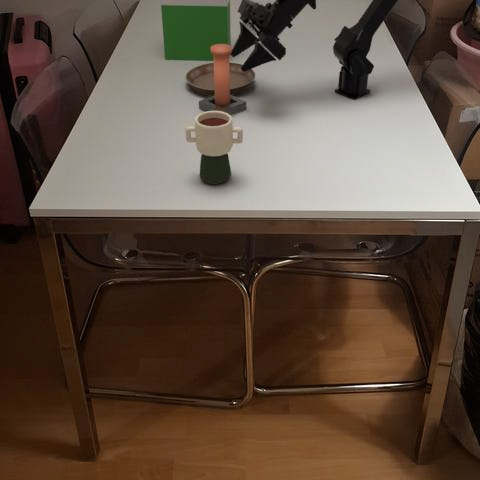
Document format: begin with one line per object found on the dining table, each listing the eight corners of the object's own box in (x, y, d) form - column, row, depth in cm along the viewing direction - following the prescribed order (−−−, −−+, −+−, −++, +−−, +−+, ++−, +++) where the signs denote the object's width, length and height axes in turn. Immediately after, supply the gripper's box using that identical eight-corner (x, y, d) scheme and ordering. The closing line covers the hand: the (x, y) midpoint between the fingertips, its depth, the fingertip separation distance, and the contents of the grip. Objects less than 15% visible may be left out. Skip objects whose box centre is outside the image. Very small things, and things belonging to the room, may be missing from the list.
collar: (246, 109, 154) (246, 101, 153) (221, 119, 150) (220, 111, 148) (224, 99, 159) (224, 91, 157) (199, 108, 154) (198, 101, 153)
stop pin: (236, 109, 154) (236, 47, 145) (221, 115, 151) (220, 53, 142) (223, 103, 157) (222, 42, 148) (208, 109, 154) (206, 47, 145)
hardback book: (165, 59, 180) (158, -31, 166) (169, 50, 186) (163, -38, 172) (228, 61, 179) (226, -30, 164) (230, 51, 185) (229, -37, 170)
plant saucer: (193, 104, 157) (193, 92, 155) (180, 76, 171) (179, 65, 169) (263, 95, 160) (263, 84, 159) (244, 69, 174) (244, 58, 172)
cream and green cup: (243, 169, 131) (243, 110, 123) (241, 188, 125) (241, 127, 118) (190, 168, 132) (187, 109, 124) (186, 186, 126) (182, 126, 118)
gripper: (248, -26, 147) (202, 27, 151) (273, -3, 132) (222, 55, 137) (280, 7, 153) (235, 56, 157) (307, 32, 139) (257, 86, 143)
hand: (236, 62), depth 148 cm, fingers open, 9 cm apart
